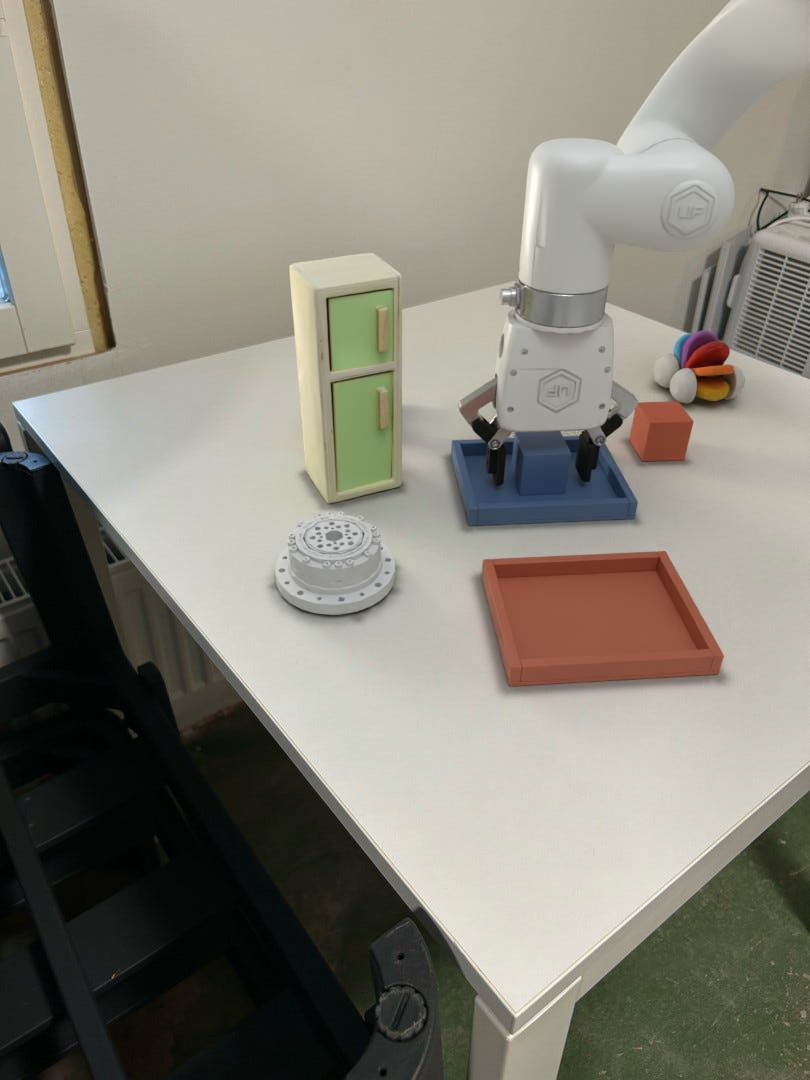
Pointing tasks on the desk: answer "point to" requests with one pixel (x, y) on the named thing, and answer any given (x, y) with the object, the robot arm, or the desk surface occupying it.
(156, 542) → the desk surface
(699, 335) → the rainbow petal toy
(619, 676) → the terracotta tray
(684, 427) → the terracotta block
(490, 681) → the desk surface
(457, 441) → the blue tray
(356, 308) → the toy refrigerator
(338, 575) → the mechanical component
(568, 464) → the blue block
